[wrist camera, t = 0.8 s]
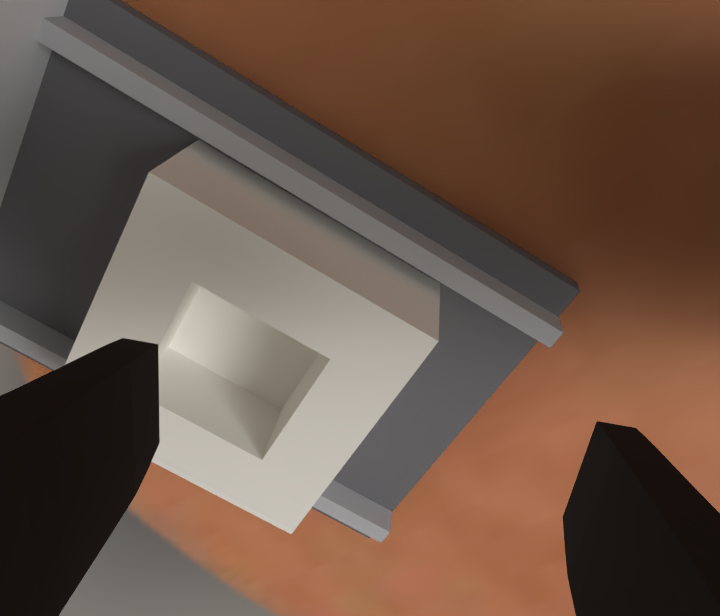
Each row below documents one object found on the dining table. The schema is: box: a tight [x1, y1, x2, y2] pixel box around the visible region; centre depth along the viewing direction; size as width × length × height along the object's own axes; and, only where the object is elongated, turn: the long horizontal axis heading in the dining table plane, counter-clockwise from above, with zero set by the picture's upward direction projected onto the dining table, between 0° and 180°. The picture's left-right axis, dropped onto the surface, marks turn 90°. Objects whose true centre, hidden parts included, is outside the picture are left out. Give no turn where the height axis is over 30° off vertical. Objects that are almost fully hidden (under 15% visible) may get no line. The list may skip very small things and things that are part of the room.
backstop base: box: [0, 0, 580, 542], centre depth 18 cm, size 19×12×7 cm, turn 60°
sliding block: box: [65, 140, 440, 534], centre depth 19 cm, size 8×8×4 cm
